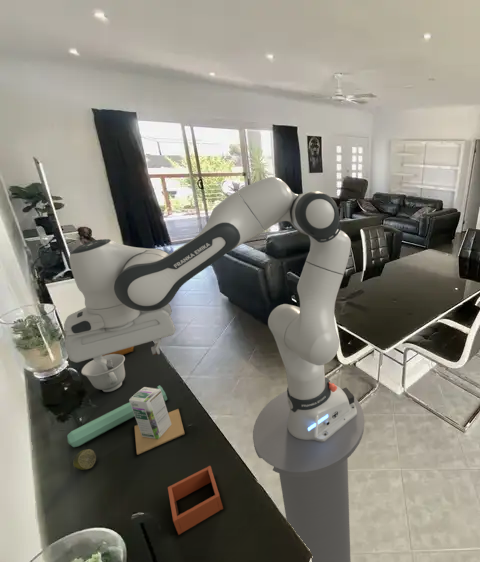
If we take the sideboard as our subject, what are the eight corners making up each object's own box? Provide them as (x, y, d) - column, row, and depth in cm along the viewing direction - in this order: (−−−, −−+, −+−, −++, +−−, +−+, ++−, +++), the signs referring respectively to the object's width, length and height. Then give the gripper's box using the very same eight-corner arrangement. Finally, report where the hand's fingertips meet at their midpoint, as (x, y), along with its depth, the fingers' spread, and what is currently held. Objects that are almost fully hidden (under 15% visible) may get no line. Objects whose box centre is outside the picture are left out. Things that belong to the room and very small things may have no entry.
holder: (213, 478, 85) (210, 465, 83) (223, 508, 78) (219, 495, 76) (172, 500, 80) (167, 487, 78) (178, 535, 73) (173, 521, 71)
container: (63, 436, 89) (162, 386, 107) (62, 431, 93) (157, 384, 111) (73, 454, 90) (169, 401, 108) (71, 448, 94) (164, 399, 112)
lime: (97, 455, 91) (91, 442, 89) (99, 466, 88) (92, 454, 86) (76, 465, 88) (69, 452, 86) (77, 477, 85) (70, 464, 83)
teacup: (99, 408, 107) (89, 384, 103) (86, 388, 115) (76, 365, 111) (141, 387, 116) (133, 365, 112) (125, 371, 124) (117, 349, 120)
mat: (178, 409, 106) (178, 408, 106) (184, 434, 98) (184, 432, 98) (134, 427, 100) (134, 426, 100) (137, 455, 91) (136, 453, 91)
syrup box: (141, 437, 96) (127, 400, 90) (156, 421, 101) (143, 385, 95) (158, 439, 95) (145, 402, 89) (172, 424, 101) (161, 387, 95)
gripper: (166, 294, 81) (180, 340, 86) (57, 319, 69) (81, 369, 75) (169, 303, 76) (183, 351, 82) (53, 332, 65) (79, 385, 71)
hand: (133, 360), depth 78 cm, fingers open, 8 cm apart
